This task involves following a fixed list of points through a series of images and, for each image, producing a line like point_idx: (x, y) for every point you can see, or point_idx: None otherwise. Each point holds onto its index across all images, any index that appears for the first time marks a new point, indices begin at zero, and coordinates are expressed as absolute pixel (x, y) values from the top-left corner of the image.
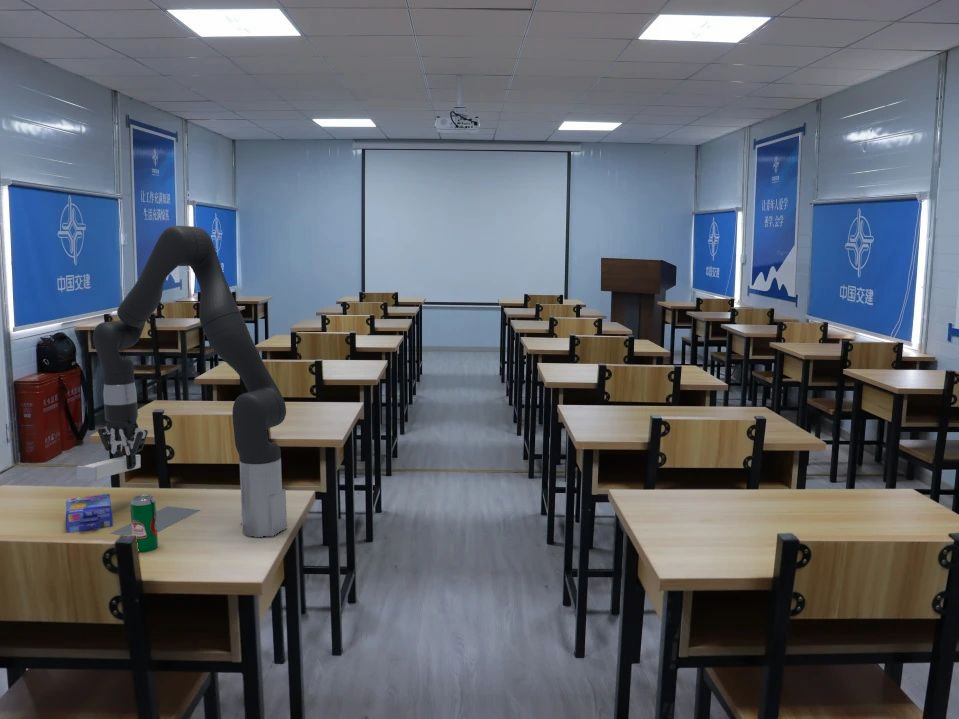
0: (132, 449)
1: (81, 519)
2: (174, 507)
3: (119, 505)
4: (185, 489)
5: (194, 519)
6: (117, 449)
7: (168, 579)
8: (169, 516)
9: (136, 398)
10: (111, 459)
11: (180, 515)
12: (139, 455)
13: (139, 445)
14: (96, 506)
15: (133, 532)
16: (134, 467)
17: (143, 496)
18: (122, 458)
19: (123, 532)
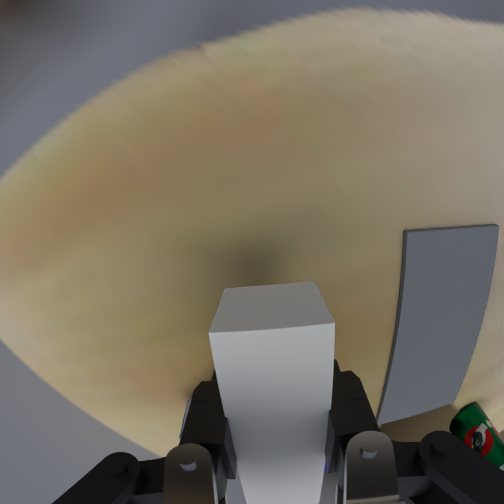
0: (405, 498)
1: (325, 470)
2: (433, 234)
3: (216, 266)
4: (304, 24)
5: (498, 274)
6: (218, 495)
7: (501, 429)
8: (455, 302)
9: None
10: (257, 490)
11: (475, 284)
12: (334, 333)
13: (450, 479)
14: None
15: None
16: (334, 360)
17: None
18: (298, 460)
19: (402, 411)
